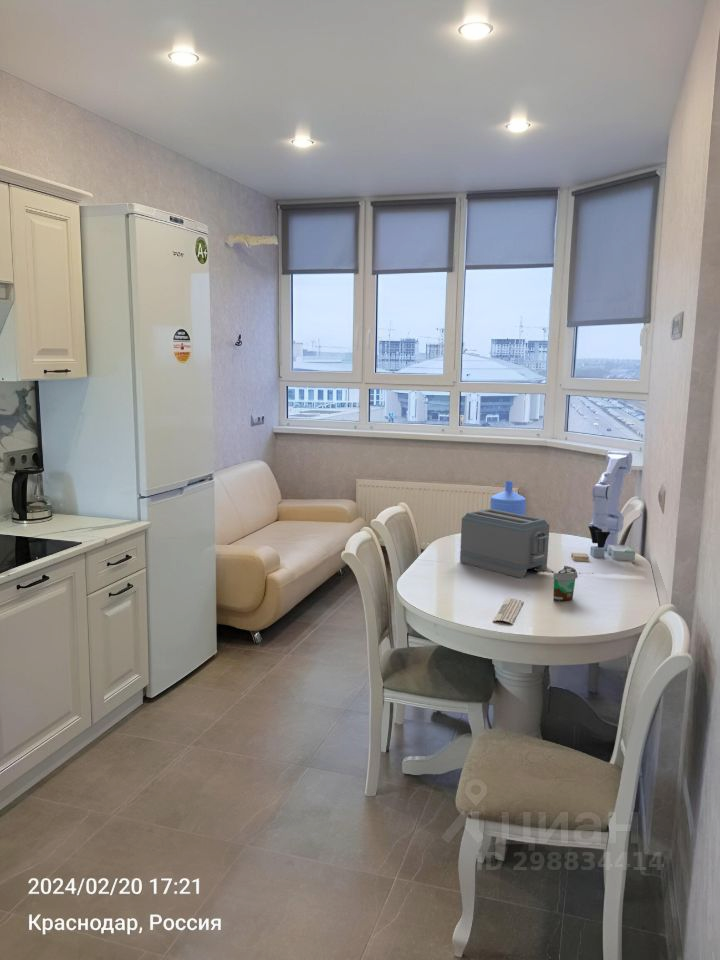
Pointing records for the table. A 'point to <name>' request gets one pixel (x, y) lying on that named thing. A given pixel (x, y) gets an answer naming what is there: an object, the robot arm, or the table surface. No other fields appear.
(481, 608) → the table surface
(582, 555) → the tower top
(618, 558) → the ink box
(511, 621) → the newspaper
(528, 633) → the table surface
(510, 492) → the water jug
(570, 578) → the food container
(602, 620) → the table surface
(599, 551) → the block
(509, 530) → the toaster
